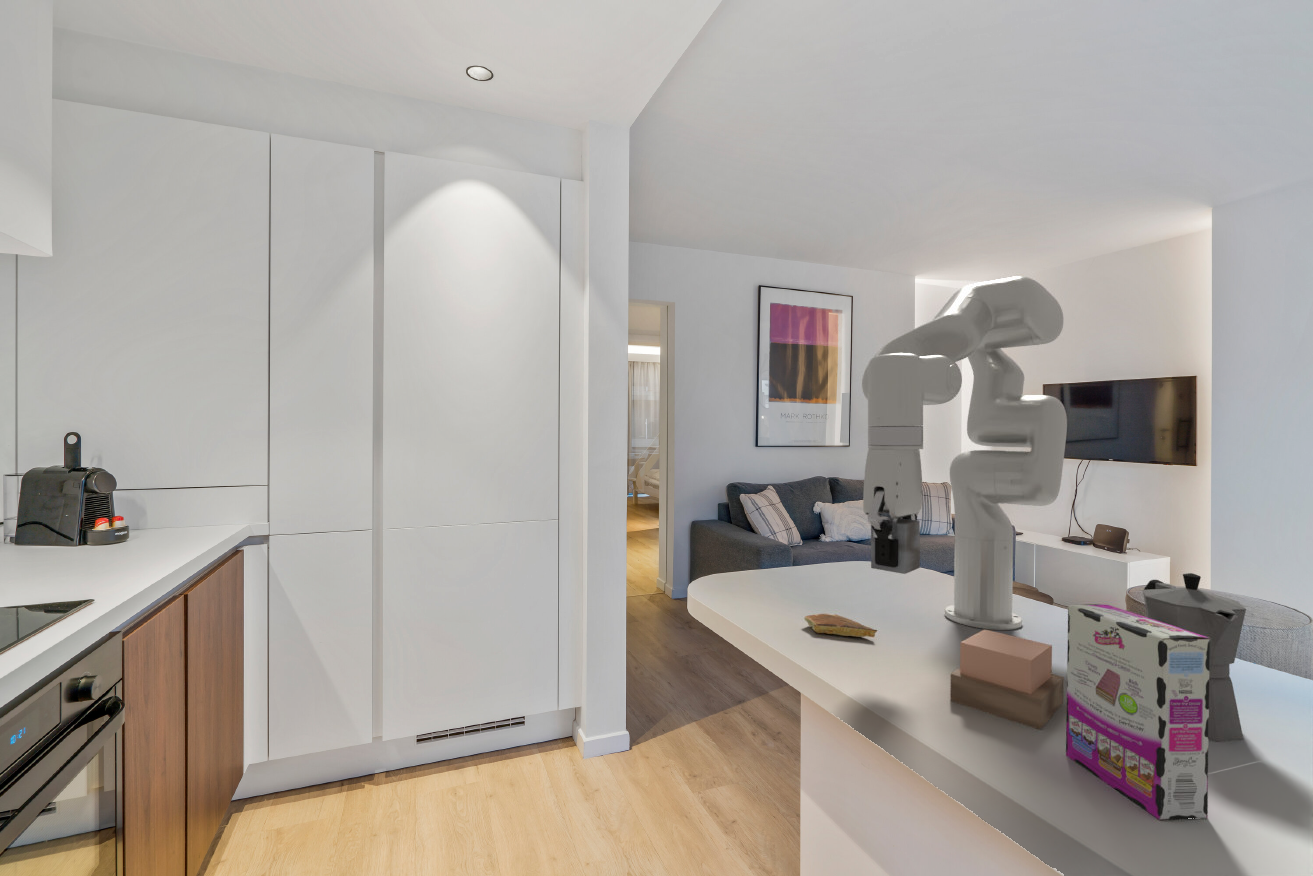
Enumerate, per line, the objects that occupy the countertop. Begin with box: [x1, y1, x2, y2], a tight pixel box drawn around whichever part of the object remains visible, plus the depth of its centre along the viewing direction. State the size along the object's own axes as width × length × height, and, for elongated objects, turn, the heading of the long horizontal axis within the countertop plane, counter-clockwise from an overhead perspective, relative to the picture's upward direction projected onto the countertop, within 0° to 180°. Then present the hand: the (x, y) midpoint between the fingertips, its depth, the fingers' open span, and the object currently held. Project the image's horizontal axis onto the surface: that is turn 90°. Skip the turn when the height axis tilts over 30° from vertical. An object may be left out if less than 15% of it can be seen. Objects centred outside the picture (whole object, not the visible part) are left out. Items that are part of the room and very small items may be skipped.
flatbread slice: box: [804, 613, 878, 638], centre depth 101 cm, size 11×8×2 cm
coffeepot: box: [1142, 572, 1247, 743], centre depth 71 cm, size 15×9×18 cm, turn 167°
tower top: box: [959, 629, 1053, 694], centre depth 75 cm, size 8×8×4 cm
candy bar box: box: [1065, 603, 1210, 822], centre depth 58 cm, size 11×5×16 cm, turn 5°
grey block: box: [870, 517, 921, 575], centre depth 87 cm, size 5×5×7 cm
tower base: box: [949, 667, 1065, 730], centre depth 75 cm, size 10×10×4 cm
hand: (895, 561), depth 87 cm, fingers closed on grey block, 5 cm apart
